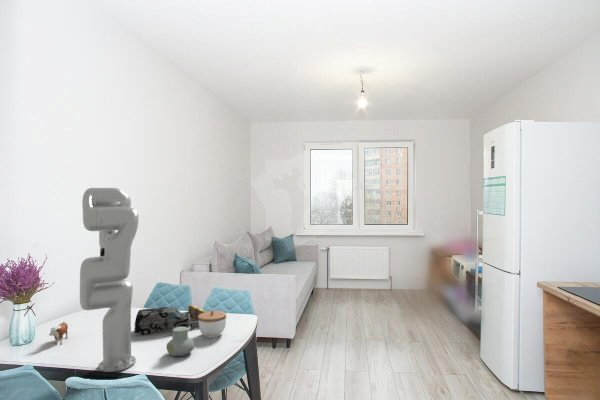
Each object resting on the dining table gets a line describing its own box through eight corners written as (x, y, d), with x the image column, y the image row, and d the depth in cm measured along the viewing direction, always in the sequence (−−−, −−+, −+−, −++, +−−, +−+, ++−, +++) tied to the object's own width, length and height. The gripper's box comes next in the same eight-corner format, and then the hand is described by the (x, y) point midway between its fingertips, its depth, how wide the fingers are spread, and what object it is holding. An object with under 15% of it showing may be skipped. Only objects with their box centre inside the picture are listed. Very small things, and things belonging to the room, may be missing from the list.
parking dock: (209, 325, 187) (209, 312, 187) (192, 329, 181) (191, 316, 181) (192, 316, 202) (191, 304, 201) (175, 320, 196) (175, 307, 196)
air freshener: (164, 352, 154) (164, 328, 154) (183, 347, 160) (183, 323, 160) (177, 360, 146) (176, 334, 146) (196, 354, 152) (196, 329, 152)
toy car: (190, 331, 179) (190, 309, 179) (133, 337, 172) (133, 315, 172) (190, 324, 190) (190, 303, 190) (136, 329, 183) (136, 308, 183)
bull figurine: (47, 348, 160) (46, 329, 160) (60, 337, 173) (60, 319, 173) (58, 347, 161) (58, 328, 161) (71, 336, 174) (71, 318, 174)
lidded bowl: (212, 328, 182) (211, 305, 182) (232, 332, 176) (231, 309, 176) (192, 336, 171) (191, 312, 171) (212, 341, 165) (212, 316, 165)
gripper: (120, 223, 170) (121, 261, 170) (110, 222, 183) (110, 257, 183) (102, 224, 165) (103, 264, 165) (92, 222, 178) (93, 259, 178)
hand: (107, 260), depth 174 cm, fingers open, 9 cm apart
